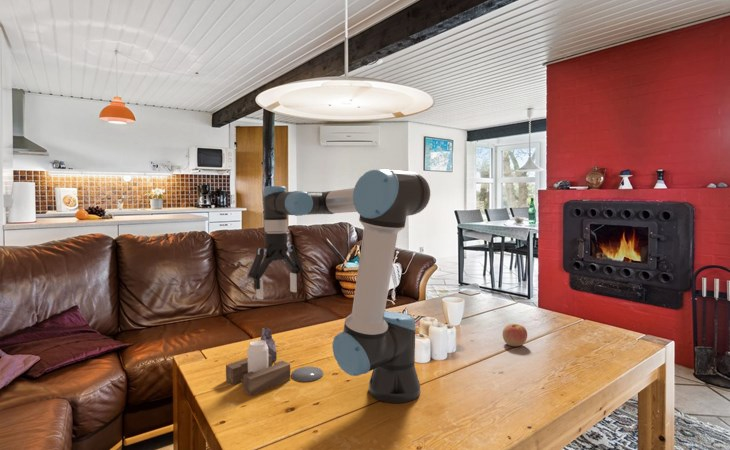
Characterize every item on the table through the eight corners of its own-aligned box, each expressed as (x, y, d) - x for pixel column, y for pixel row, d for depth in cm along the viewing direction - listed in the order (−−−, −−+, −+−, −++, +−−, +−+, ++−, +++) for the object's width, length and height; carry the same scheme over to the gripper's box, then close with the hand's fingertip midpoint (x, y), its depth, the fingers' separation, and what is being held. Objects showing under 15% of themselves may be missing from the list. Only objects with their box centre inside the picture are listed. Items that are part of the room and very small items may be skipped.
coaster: (329, 374, 129) (329, 372, 129) (305, 384, 122) (305, 383, 122) (309, 365, 136) (309, 363, 136) (285, 374, 129) (285, 373, 129)
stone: (275, 335, 136) (273, 320, 151) (256, 337, 135) (256, 322, 149) (277, 364, 138) (275, 347, 152) (258, 367, 136) (259, 349, 150)
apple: (531, 347, 154) (532, 327, 153) (512, 350, 151) (513, 329, 150) (515, 340, 162) (515, 320, 161) (497, 342, 159) (497, 322, 158)
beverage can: (272, 377, 127) (271, 340, 126) (262, 386, 121) (261, 347, 120) (254, 374, 129) (254, 338, 128) (243, 383, 123) (243, 345, 122)
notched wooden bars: (290, 379, 125) (290, 364, 125) (250, 395, 115) (250, 379, 115) (264, 366, 135) (264, 352, 134) (226, 380, 124) (225, 364, 124)
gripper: (298, 229, 146) (299, 287, 147) (236, 234, 128) (238, 300, 129) (312, 230, 141) (312, 290, 142) (249, 235, 122) (250, 303, 124)
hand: (277, 295), depth 135 cm, fingers open, 13 cm apart
